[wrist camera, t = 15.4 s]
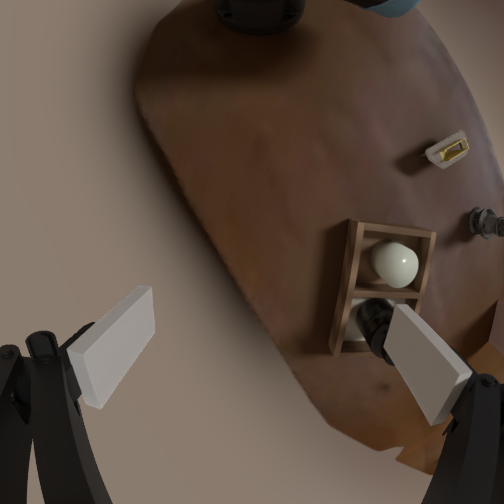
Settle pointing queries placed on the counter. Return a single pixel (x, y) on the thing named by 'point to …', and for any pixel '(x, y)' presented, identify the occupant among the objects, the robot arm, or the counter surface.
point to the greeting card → (498, 328)
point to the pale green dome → (393, 263)
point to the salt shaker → (486, 223)
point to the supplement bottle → (375, 325)
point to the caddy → (374, 280)
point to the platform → (444, 157)
